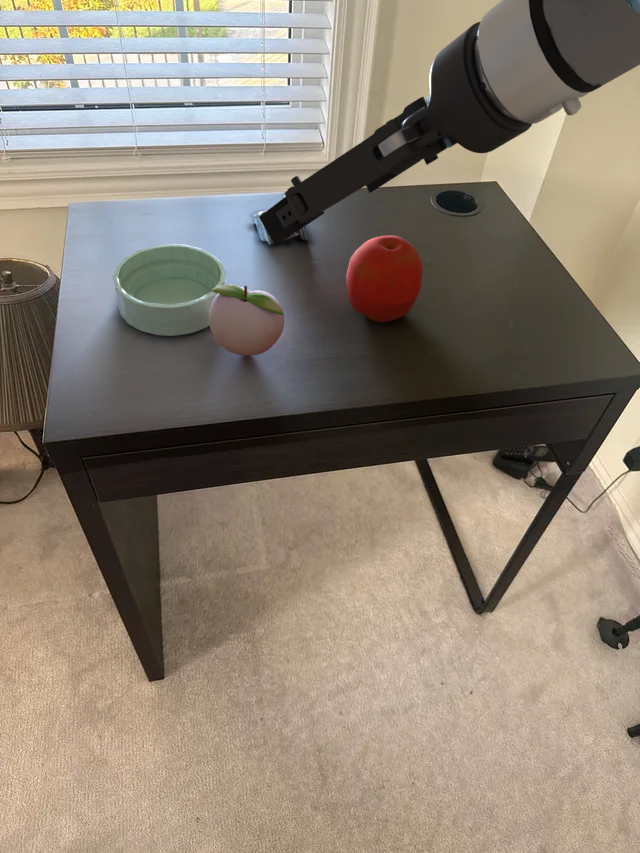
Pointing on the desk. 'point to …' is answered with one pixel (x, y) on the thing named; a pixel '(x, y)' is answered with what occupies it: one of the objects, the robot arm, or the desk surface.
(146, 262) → the bowl
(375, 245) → the apple
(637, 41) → the robot arm
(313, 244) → the desk surface
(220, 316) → the decorative fruit
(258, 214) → the grey blocky piece
